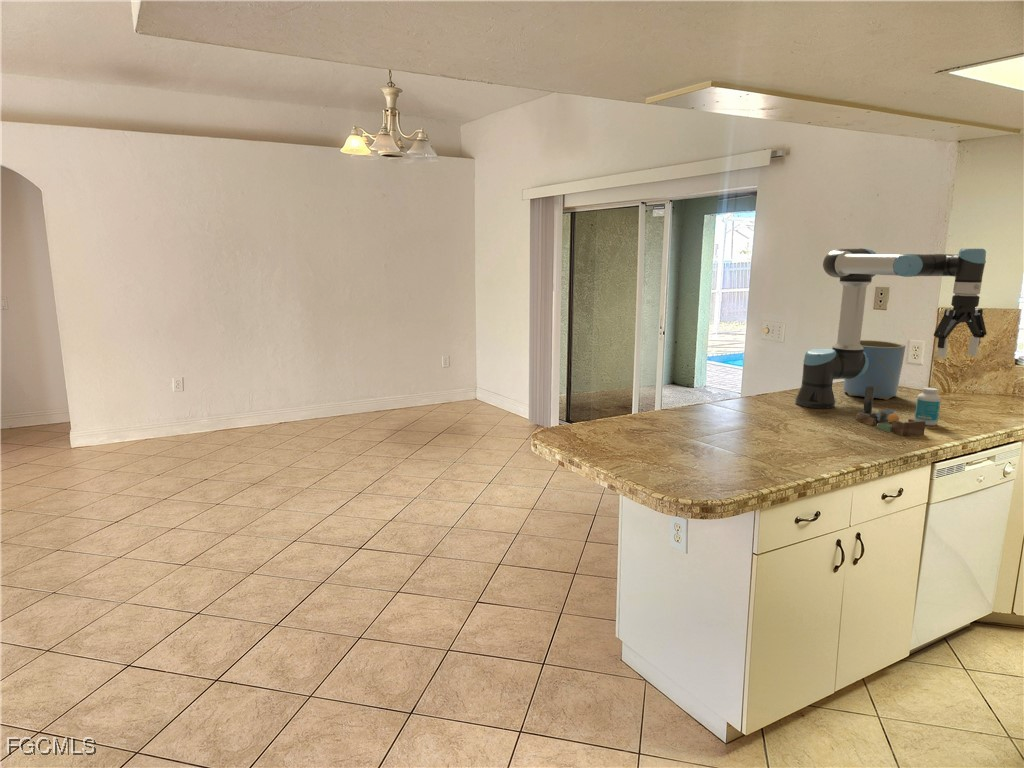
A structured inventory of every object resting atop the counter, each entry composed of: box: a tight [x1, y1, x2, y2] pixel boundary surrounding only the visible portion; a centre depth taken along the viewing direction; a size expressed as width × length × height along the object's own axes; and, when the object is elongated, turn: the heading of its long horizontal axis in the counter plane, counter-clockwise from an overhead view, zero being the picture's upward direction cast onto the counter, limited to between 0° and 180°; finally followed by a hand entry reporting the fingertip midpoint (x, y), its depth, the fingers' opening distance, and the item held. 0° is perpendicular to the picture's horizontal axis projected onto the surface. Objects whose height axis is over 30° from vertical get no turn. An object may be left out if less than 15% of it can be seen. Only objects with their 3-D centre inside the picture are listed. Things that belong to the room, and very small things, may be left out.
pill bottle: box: [914, 387, 942, 426], centre depth 234 cm, size 8×7×14 cm
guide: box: [855, 413, 889, 426], centre depth 237 cm, size 8×7×2 cm
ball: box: [887, 413, 900, 423], centre depth 228 cm, size 4×4×4 cm
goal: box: [890, 418, 926, 437], centre depth 222 cm, size 6×8×5 cm
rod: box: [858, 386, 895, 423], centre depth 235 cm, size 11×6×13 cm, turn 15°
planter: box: [843, 339, 906, 401], centre depth 280 cm, size 23×23×24 cm
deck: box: [876, 420, 904, 433], centre depth 228 cm, size 6×10×2 cm, turn 105°
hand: (956, 356), depth 216 cm, fingers open, 13 cm apart
